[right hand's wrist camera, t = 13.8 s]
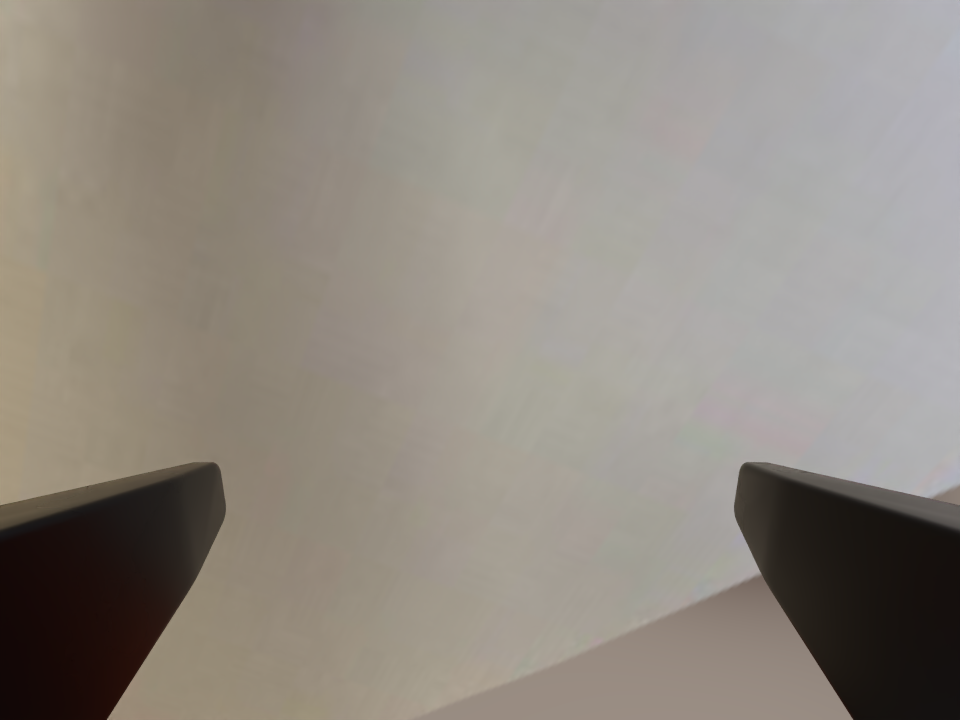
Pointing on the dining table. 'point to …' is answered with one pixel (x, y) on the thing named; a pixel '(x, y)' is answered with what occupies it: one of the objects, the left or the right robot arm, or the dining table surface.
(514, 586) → the dining table surface
